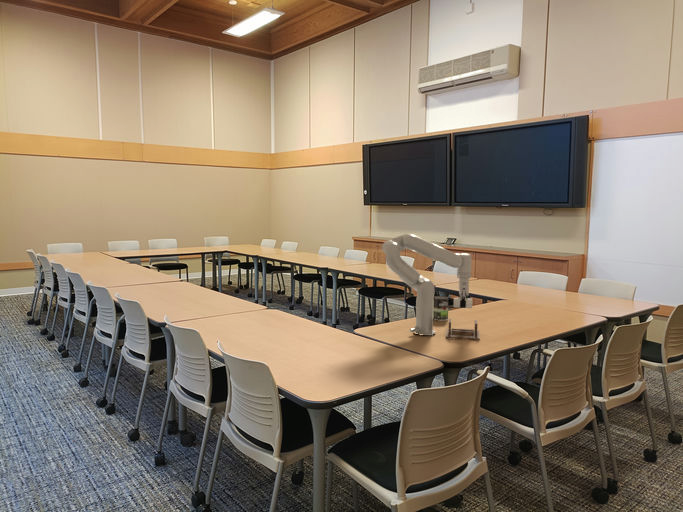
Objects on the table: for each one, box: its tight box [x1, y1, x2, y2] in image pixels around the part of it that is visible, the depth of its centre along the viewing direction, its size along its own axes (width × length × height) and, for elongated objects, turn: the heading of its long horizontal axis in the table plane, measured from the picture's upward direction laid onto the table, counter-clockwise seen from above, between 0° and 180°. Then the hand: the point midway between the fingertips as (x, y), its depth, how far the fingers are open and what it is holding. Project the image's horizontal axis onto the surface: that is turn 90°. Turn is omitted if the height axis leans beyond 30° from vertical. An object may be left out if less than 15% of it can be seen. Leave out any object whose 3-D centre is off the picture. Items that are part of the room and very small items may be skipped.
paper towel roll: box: [453, 297, 473, 309], centre depth 273 cm, size 10×6×6 cm, turn 79°
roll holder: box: [445, 318, 481, 341], centre depth 267 cm, size 18×16×8 cm
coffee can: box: [433, 295, 449, 322], centre depth 305 cm, size 10×10×14 cm
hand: (462, 306), depth 274 cm, fingers closed on paper towel roll, 5 cm apart
